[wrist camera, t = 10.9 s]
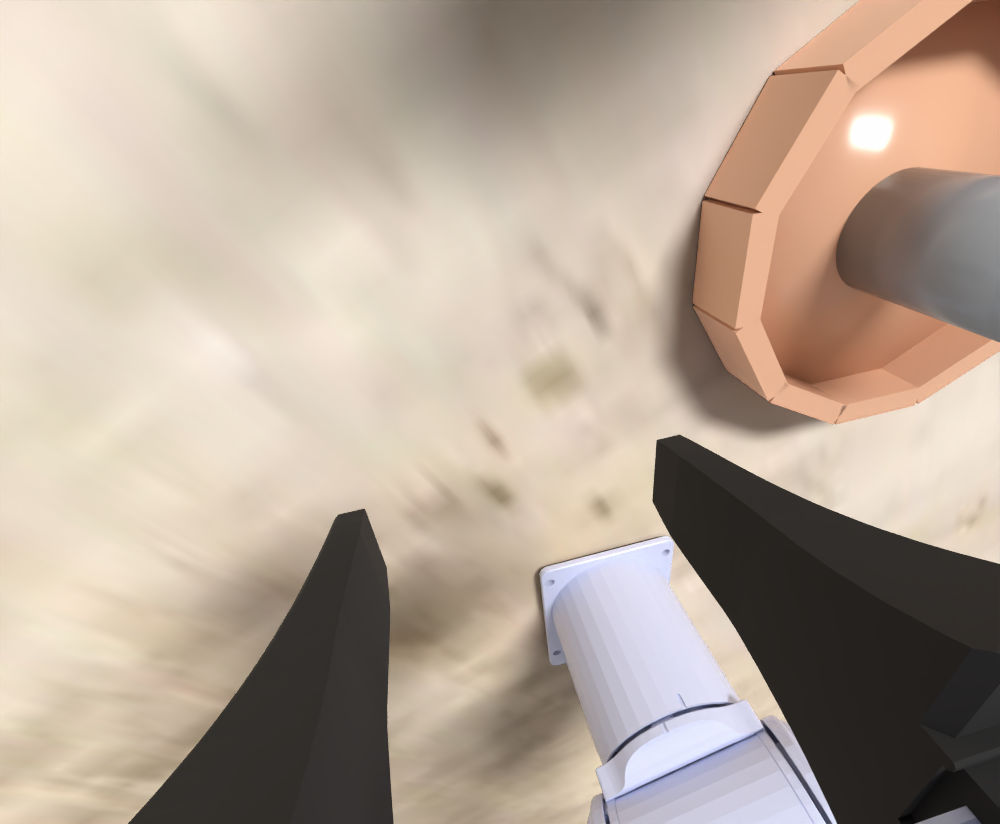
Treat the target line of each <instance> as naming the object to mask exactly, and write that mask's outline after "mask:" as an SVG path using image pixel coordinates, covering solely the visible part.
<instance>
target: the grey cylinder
mask: <svg viewBox="0 0 1000 824" xmlns="http://www.w3.org/2000/svg"><path fill="white" fill-rule="evenodd" d="M836 266H837V271H838V273H839V276H840V278H841V279H842V281H843V282H844V283H845V284H846V285H848V286H849V287H851V288H854V289H856V290H859V291H862V292H864V293H867V294H870V295H872V296H875V297H878V298H881V299H883V300H886V301H889V302H891V303H894V304H897V305H900V306H902V307H905V308H908V309H910V310H913V311H916V312H918V313H921V314H924V315H927V316H929V317H932V318H935V319H937V320H940V321H943V322H945V323H948V324H951V325H954V326H956V327H959V328H962V329H964V330H967V331H970V332H973V333H975V334H978V335H981V336H983V337H986V338H989V339H991V340H994V341H997V342H1000V175H991V174H982V173H972V172H962V171H952V170H942V169H932V168H922V167H912V168H907V169H903V170H900V171H898V172H895V173H893V174H891V175H889V176H888V177H886V178H885V179H883V180H882V181H880V182H879V183H878V184H876V185H875V186H874V187H873V188H872V189H871V190H870V191H869V192H868V193H866V194H865V196H864V197H863V198H862V199H861V200H860V201H859V203H858V204H857V205H856V207H855V208H854V209H853V211H852V212H851V214H850V216H849V217H848V219H847V221H846V223H845V225H844V227H843V229H842V232H841V234H840V237H839V241H838V245H837V250H836Z"/></svg>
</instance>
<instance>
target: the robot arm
mask: <svg viewBox="0 0 1000 824" xmlns="http://www.w3.org/2000/svg"><path fill="white" fill-rule="evenodd" d="M653 503H654V505H655V507H656V509H657V511H658V513H659V515H660V517H661V519H662V521H663V523H664V524H665V526H666V528H667V530H668V532H669V533H670V535H671V537H672V538H673V540H674V541H675V543H676V544H677V546H678V547H679V548H680V550H681V551H682V553H683V554H684V556H685V557H686V558H687V560H688V561H689V563H690V564H691V566H692V567H693V568H694V570H695V571H696V573H697V574H698V575H699V577H700V578H701V580H702V581H703V582H704V584H705V585H706V587H707V588H708V589H709V591H710V592H711V594H712V595H713V596H714V598H715V599H716V601H717V602H718V603H719V605H720V606H721V608H722V609H723V610H724V612H725V613H726V615H727V616H728V618H729V619H730V621H731V622H732V624H733V625H734V627H735V629H736V630H737V632H738V634H739V635H740V637H741V639H742V641H743V642H744V644H745V646H746V647H747V649H748V651H749V653H750V654H751V656H752V658H753V660H754V661H755V663H756V665H757V667H758V668H759V670H760V672H761V674H762V676H763V678H764V679H765V681H766V683H767V685H768V687H769V689H770V690H771V692H772V694H773V696H774V698H775V699H776V701H777V703H778V705H779V707H780V709H781V711H782V713H783V714H784V716H785V718H786V720H787V722H788V723H786V722H784V721H781V720H779V719H778V718H777V717H775V716H773V715H769V716H767V717H765V718H763V719H762V720H760V721H761V722H760V721H759V719H758V718H757V716H756V714H755V713H754V711H753V710H752V708H751V706H750V705H749V703H748V702H747V700H742V701H741V700H740V699H739V697H738V696H737V694H736V692H735V691H734V689H733V687H732V686H731V684H730V683H729V681H728V679H727V678H726V676H725V675H724V673H723V671H722V670H721V668H720V666H719V665H718V663H717V662H716V660H715V658H714V657H713V655H712V653H711V652H710V650H709V649H708V647H707V645H706V644H705V642H704V640H703V639H702V637H701V636H700V634H699V632H698V631H697V629H696V627H695V626H694V624H693V623H692V621H691V619H690V618H689V616H688V615H687V613H686V611H685V610H684V608H683V606H682V605H681V603H680V602H679V600H678V598H677V597H676V595H675V593H674V592H673V590H672V589H671V587H670V585H669V583H670V574H671V565H672V556H673V546H674V543H673V541H672V539H671V538H670V537H668V536H663V537H659V538H655V539H651V540H647V541H643V542H640V543H636V544H632V545H628V546H624V547H620V548H616V549H613V550H609V551H605V552H601V553H597V554H593V555H589V556H585V557H582V558H578V559H574V560H570V561H566V562H562V563H558V564H555V565H551V566H547V567H544V568H543V569H542V570H541V571H540V574H539V576H540V584H541V593H542V602H543V611H544V619H545V628H546V637H547V645H548V654H549V660H550V663H551V664H552V665H554V666H557V665H561V664H564V663H567V666H568V669H569V672H570V675H571V678H572V681H573V683H574V686H575V689H576V692H577V695H578V698H579V701H580V704H581V707H582V710H583V713H584V716H585V719H586V722H587V724H588V727H589V730H590V733H591V736H592V739H593V742H594V745H595V748H596V750H597V753H598V755H599V757H600V759H601V761H602V764H603V765H602V766H600V767H598V768H596V770H595V771H596V774H597V777H598V780H599V783H600V786H601V789H602V792H603V793H601V794H599V795H596V796H594V797H593V799H592V801H591V807H590V814H589V817H588V822H587V824H1000V564H998V563H993V562H990V561H986V560H982V559H978V558H975V557H971V556H967V555H963V554H960V553H956V552H952V551H949V550H945V549H942V548H938V547H935V546H932V545H928V544H925V543H922V542H918V541H915V540H912V539H909V538H906V537H903V536H900V535H897V534H894V533H891V532H888V531H885V530H882V529H879V528H876V527H873V526H871V525H868V524H865V523H862V522H860V521H857V520H855V519H852V518H850V517H847V516H845V515H842V514H839V513H837V512H834V511H832V510H829V509H827V508H824V507H822V506H820V505H817V504H815V503H813V502H811V501H808V500H806V499H804V498H802V497H800V496H798V495H795V494H793V493H791V492H789V491H787V490H785V489H782V488H780V487H778V486H776V485H774V484H772V483H770V482H768V481H766V480H764V479H762V478H760V477H758V476H756V475H754V474H753V473H751V472H749V471H747V470H745V469H743V468H741V467H739V466H737V465H736V464H734V463H732V462H730V461H728V460H726V459H724V458H723V457H721V456H719V455H717V454H715V453H713V452H712V451H710V450H708V449H706V448H704V447H702V446H701V445H699V444H697V443H695V442H693V441H691V440H689V439H687V438H685V437H683V436H681V435H677V436H672V437H668V438H664V439H660V440H657V444H656V458H655V473H654V487H653ZM389 633H390V601H389V589H388V578H387V567H386V565H385V562H384V559H383V557H382V554H381V551H380V549H379V546H378V543H377V540H376V538H375V535H374V532H373V530H372V527H371V524H370V522H369V519H368V516H367V513H366V511H365V509H361V510H357V511H352V512H348V513H344V514H340V515H338V516H337V517H336V518H335V520H334V522H333V525H332V527H331V529H330V531H329V534H328V536H327V538H326V540H325V542H324V545H323V547H322V549H321V551H320V553H319V555H318V557H317V559H316V561H315V563H314V565H313V567H312V569H311V571H310V573H309V575H308V577H307V579H306V581H305V583H304V585H303V587H302V589H301V591H300V593H299V594H298V596H297V598H296V600H295V602H294V604H293V605H292V607H291V609H290V610H289V612H288V614H287V616H286V617H285V619H284V621H283V622H282V624H281V626H280V628H279V629H278V631H277V633H276V634H275V636H274V638H273V639H272V641H271V642H270V644H269V646H268V647H267V649H266V650H265V652H264V653H263V655H262V657H261V658H260V660H259V661H258V663H257V664H256V666H255V667H254V668H253V670H252V671H251V673H250V674H249V676H248V677H247V679H246V680H245V682H244V683H243V684H242V686H241V687H240V689H239V690H238V691H237V693H236V694H235V695H234V697H233V698H232V699H231V701H230V702H229V703H228V705H227V706H226V708H225V709H224V710H223V712H222V713H221V714H220V716H219V717H218V718H217V720H216V721H215V722H214V724H213V725H212V726H211V727H210V729H209V730H208V731H207V732H206V734H205V735H204V736H203V738H202V739H201V740H200V741H199V743H198V744H197V745H196V746H195V747H194V749H193V750H192V751H191V752H190V753H189V754H188V756H187V757H186V758H185V759H184V760H183V762H182V763H181V764H180V765H179V766H178V767H177V769H176V770H175V771H174V772H173V773H172V774H171V776H170V777H169V778H168V779H167V780H166V782H165V783H164V784H163V785H162V786H161V787H160V789H159V790H158V791H157V792H156V793H155V794H154V795H153V797H152V798H151V799H150V800H149V801H148V802H147V803H146V804H145V806H144V807H143V808H142V809H141V810H140V811H139V812H138V813H137V814H136V815H135V817H134V818H133V819H132V820H131V821H130V822H129V823H128V824H393V810H392V796H391V782H390V767H389V750H388V733H387V695H388V664H389Z"/></svg>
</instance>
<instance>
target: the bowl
mask: <svg viewBox="0 0 1000 824" xmlns="http://www.w3.org/2000/svg"><path fill="white" fill-rule="evenodd" d="M774 72H775V75H773V76H770V77H769V79H768V80H767V82H766V84H765V86H764V88H763V89H762V91H761V93H760V95H759V97H758V99H757V100H756V102H755V104H754V106H753V108H752V109H751V111H750V113H749V115H748V117H747V119H746V120H745V122H744V124H743V126H742V128H741V129H740V131H739V133H738V135H737V137H736V139H735V140H734V142H733V144H732V146H731V148H730V149H729V151H728V153H727V155H726V157H725V159H724V160H723V162H722V164H721V166H720V168H719V169H718V171H717V173H716V175H715V177H714V179H713V180H712V182H711V184H710V186H709V188H708V190H707V191H706V193H705V195H704V196H706V197H708V198H710V199H709V200H704V201H702V211H701V221H700V231H699V241H698V251H697V261H696V271H695V281H694V291H693V301H692V303H693V304H695V305H694V306H693V308H694V310H695V311H696V313H697V315H698V317H699V319H700V321H701V323H702V325H703V327H704V329H705V331H706V333H707V334H708V336H709V338H710V340H711V342H712V344H713V346H714V348H715V350H716V352H717V354H718V356H719V357H720V359H721V361H722V363H723V365H724V367H725V369H726V370H727V371H728V372H729V373H731V374H732V375H733V376H735V377H736V378H737V379H739V380H740V381H742V382H743V383H744V384H746V385H747V386H748V387H750V388H751V389H752V390H754V391H755V392H756V393H758V394H759V395H760V396H762V397H763V398H764V399H766V400H767V401H768V402H770V403H772V404H775V405H778V406H781V407H784V408H787V409H790V410H793V411H796V412H798V413H801V414H804V415H807V416H810V417H813V418H816V419H819V420H822V421H825V422H828V423H830V424H834V423H835V424H840V423H844V422H848V421H852V420H856V419H860V418H865V417H869V416H873V415H877V414H881V413H885V412H889V411H894V410H898V409H902V408H906V407H910V406H914V405H915V403H918V404H919V403H920V402H922V401H923V400H925V399H926V398H928V397H929V396H931V395H933V394H934V393H936V392H937V391H939V390H940V389H942V388H943V387H945V386H946V385H948V384H950V383H951V382H953V381H954V380H956V379H957V378H959V377H960V376H962V375H963V374H965V373H966V372H968V371H970V370H971V369H973V368H974V367H976V366H977V365H979V364H980V363H982V362H983V361H985V360H987V359H988V358H990V357H991V356H993V355H994V354H996V353H997V352H999V351H1000V342H997V341H994V340H991V339H989V338H986V337H983V336H981V335H978V334H975V333H973V332H970V331H967V330H964V329H962V328H959V327H956V326H954V325H951V324H948V323H945V322H943V321H940V320H937V319H935V318H932V317H929V316H927V315H924V314H921V313H918V312H916V311H913V310H910V309H908V308H905V307H902V306H900V305H897V304H894V303H891V302H889V301H886V300H883V299H881V298H878V297H875V296H872V295H870V294H867V293H864V292H862V291H859V290H856V289H854V288H851V287H849V286H848V285H846V284H845V283H844V282H843V281H842V279H841V278H840V276H839V273H838V271H837V266H836V250H837V245H838V241H839V237H840V234H841V232H842V229H843V227H844V225H845V223H846V221H847V219H848V217H849V216H850V214H851V212H852V211H853V209H854V208H855V207H856V205H857V204H858V203H859V201H860V200H861V199H862V198H863V197H864V196H865V194H866V193H868V192H869V191H870V190H871V189H872V188H873V187H874V186H875V185H876V184H878V183H879V182H880V181H882V180H883V179H885V178H886V177H888V176H889V175H891V174H893V173H895V172H898V171H900V170H903V169H907V168H912V167H922V168H932V169H942V170H952V171H962V172H972V173H982V174H991V175H1000V0H860V1H859V2H857V3H856V4H855V5H854V6H852V7H851V8H850V9H849V10H848V11H846V12H845V13H844V14H843V15H841V16H840V17H839V18H838V19H837V20H835V21H834V22H833V23H832V24H831V25H829V26H828V27H827V28H826V29H824V30H823V31H822V32H821V33H820V34H818V35H817V36H816V37H815V38H813V39H812V40H811V41H810V42H809V43H807V44H806V45H805V46H804V47H802V48H801V49H800V50H799V51H798V52H796V53H795V54H794V55H793V56H792V57H790V58H789V59H788V60H787V61H785V62H784V63H783V64H782V65H781V66H779V67H778V68H777V69H776V70H774Z"/></svg>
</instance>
